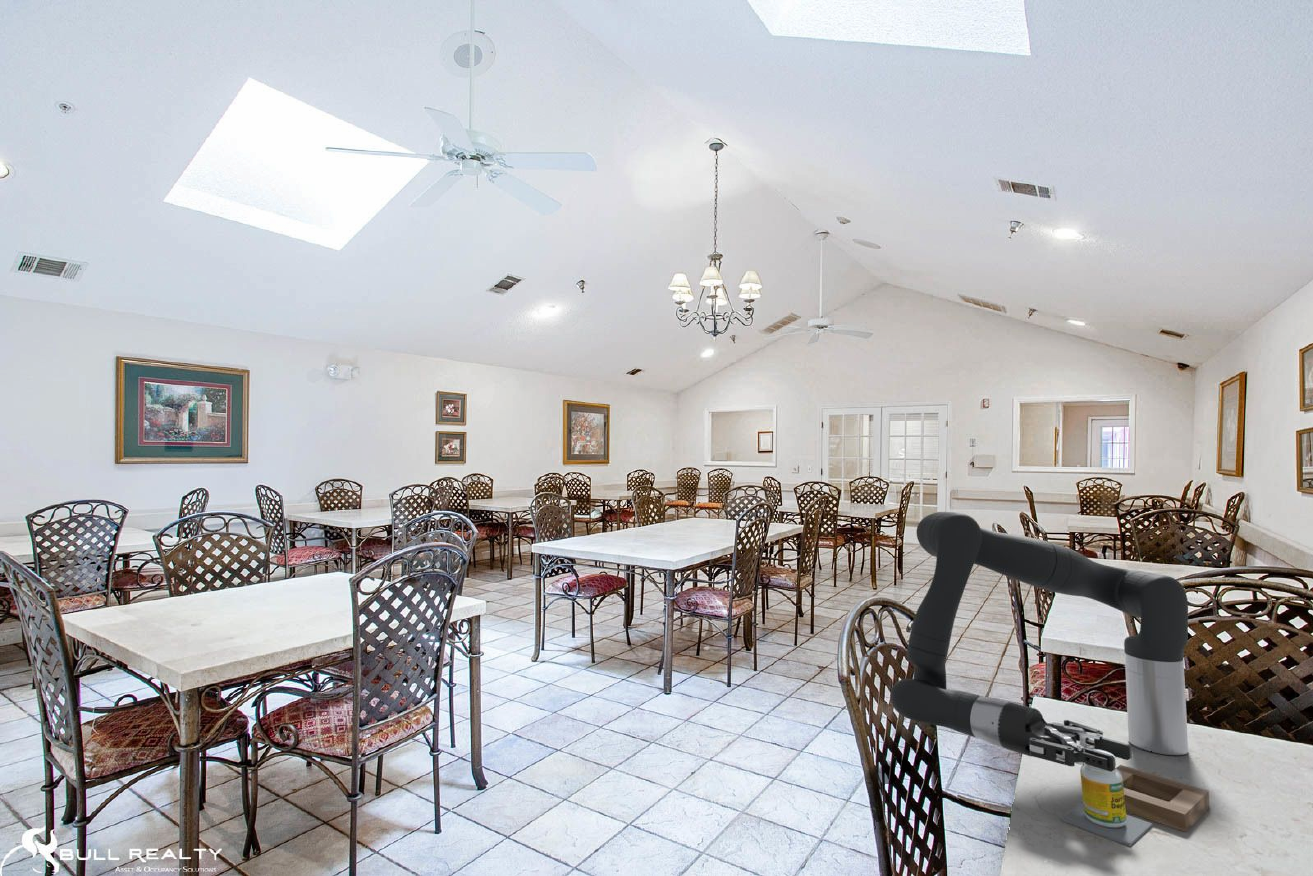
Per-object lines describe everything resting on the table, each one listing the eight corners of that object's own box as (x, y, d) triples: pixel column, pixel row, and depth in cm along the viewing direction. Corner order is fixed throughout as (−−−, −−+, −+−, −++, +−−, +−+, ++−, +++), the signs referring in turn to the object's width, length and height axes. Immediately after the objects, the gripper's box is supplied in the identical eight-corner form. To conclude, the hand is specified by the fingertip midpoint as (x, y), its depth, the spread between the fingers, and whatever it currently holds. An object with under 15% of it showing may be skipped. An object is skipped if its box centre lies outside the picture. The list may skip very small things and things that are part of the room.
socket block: (1121, 779, 113) (1120, 764, 113) (1209, 807, 104) (1208, 791, 104) (1093, 800, 106) (1092, 784, 106) (1185, 832, 97) (1184, 814, 97)
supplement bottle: (1093, 806, 103) (1087, 743, 103) (1133, 820, 98) (1127, 754, 99) (1077, 818, 100) (1071, 754, 100) (1117, 833, 95) (1111, 765, 96)
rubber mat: (1085, 802, 105) (1084, 800, 105) (1152, 826, 98) (1152, 823, 98) (1060, 820, 100) (1060, 817, 100) (1130, 846, 93) (1130, 843, 93)
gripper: (984, 711, 107) (1102, 744, 94) (1025, 693, 116) (1138, 721, 102) (986, 758, 107) (1104, 798, 93) (1027, 737, 115) (1141, 771, 102)
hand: (1122, 758), depth 98 cm, fingers open, 6 cm apart
